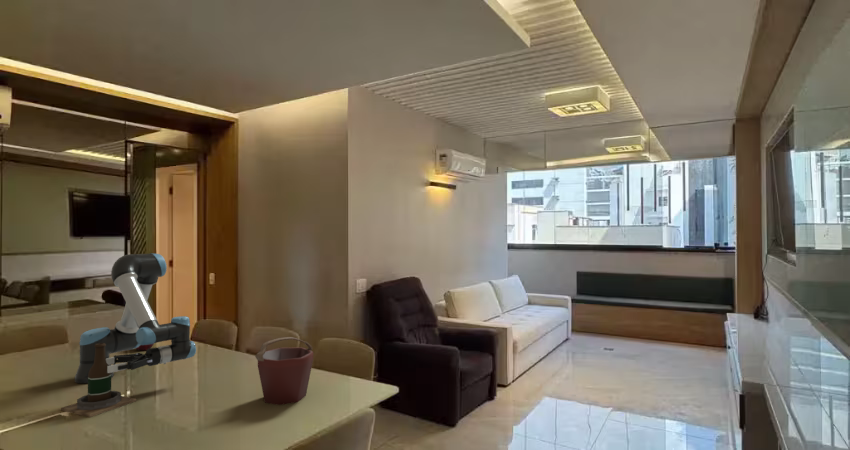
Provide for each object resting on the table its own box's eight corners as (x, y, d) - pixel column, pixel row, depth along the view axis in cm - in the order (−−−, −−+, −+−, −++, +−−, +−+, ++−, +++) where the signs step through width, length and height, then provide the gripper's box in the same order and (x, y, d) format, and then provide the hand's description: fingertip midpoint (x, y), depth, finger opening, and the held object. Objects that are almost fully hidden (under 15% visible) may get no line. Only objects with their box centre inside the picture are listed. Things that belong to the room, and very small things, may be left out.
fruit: (128, 351, 272) (129, 334, 273) (142, 347, 283) (143, 330, 283) (144, 352, 271) (144, 335, 271) (158, 347, 281) (158, 331, 282)
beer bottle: (98, 407, 180) (99, 346, 181) (82, 405, 182) (83, 345, 183) (115, 400, 188) (116, 341, 189) (100, 399, 190) (101, 340, 190)
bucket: (257, 411, 179) (257, 346, 179) (250, 394, 198) (250, 336, 199) (319, 400, 190) (319, 340, 190) (307, 385, 209) (307, 330, 210)
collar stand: (60, 410, 180) (60, 401, 180) (107, 395, 197) (107, 387, 197) (90, 417, 173) (90, 407, 173) (136, 401, 190) (136, 392, 190)
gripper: (170, 369, 195) (112, 381, 178) (146, 359, 210) (91, 370, 193) (170, 351, 195) (113, 362, 178) (146, 343, 210) (91, 352, 193)
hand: (101, 366), depth 186 cm, fingers open, 13 cm apart
